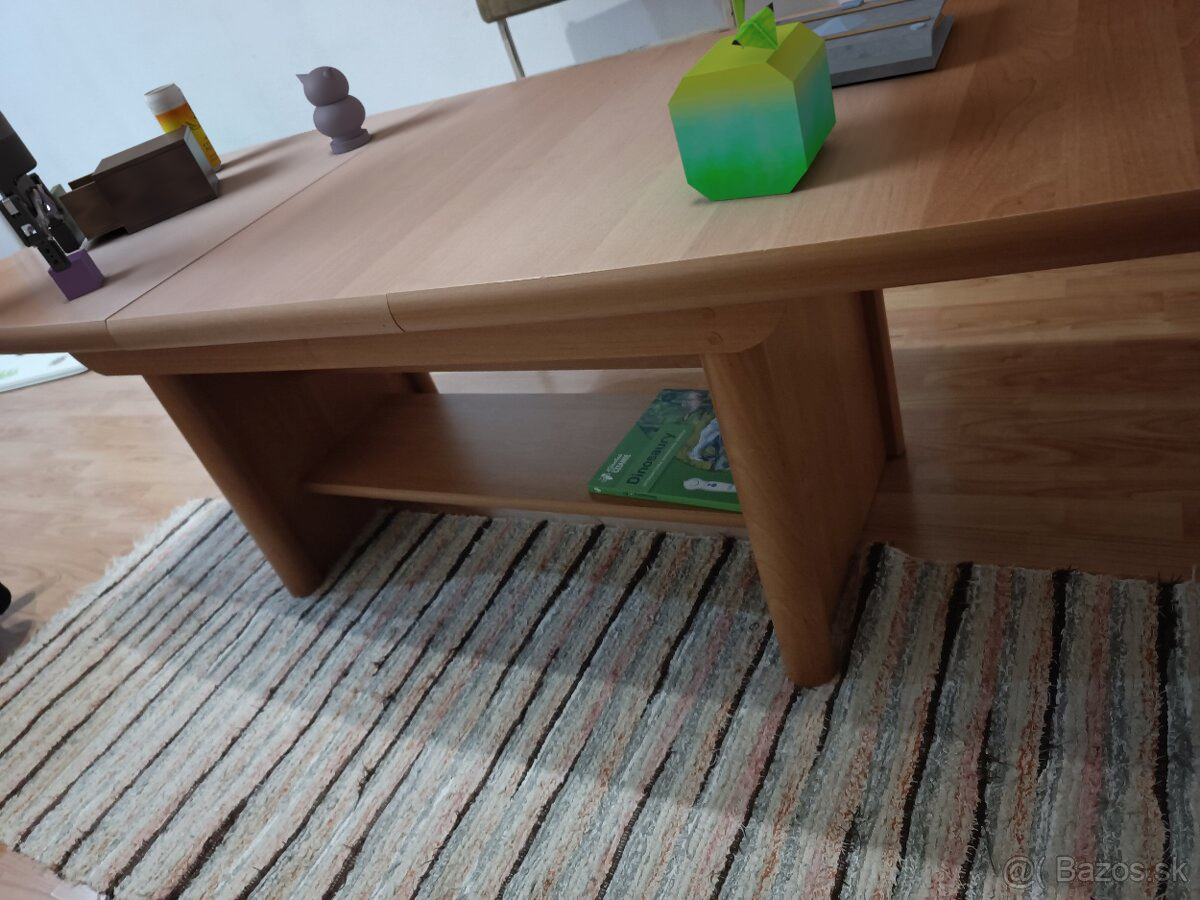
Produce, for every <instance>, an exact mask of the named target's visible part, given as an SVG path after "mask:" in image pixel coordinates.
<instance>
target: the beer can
mask: <svg viewBox="0 0 1200 900" xmlns="http://www.w3.org/2000/svg"><path fill="white" fill-rule="evenodd" d="M143 96H144V100H145V104H146V105H147V107H148V109H149V111H150V113H151V114H152V116H153V117H154V119H155V120H156V123H157V124H158V126H159V128H160V129H161V131H162V133H163V134H166V133H168V132H171V131H173V130H175V129H178V128H180V127H183V126H185V125H188V127H189V128H190V130H191V132H192V134H193V135H194V137H195V139H196V141H197V142H198V144H199V146H200V148H201V149H202V151H203V153H204V155H205V156H206V158H207V160H208V161H209V163H210V165H211V167H212V168H213V170H214V172H215V173H217V172H218V171H220V170H221V169H222V166H221V165H222V160H221V158H220V157H219V155H218V153H217V151H216V150H215V148H214V146H213V144H212V142H211V141H210V139H209V137H208V135H207V134H206V132H205V130H204V129H203V127H202V125H201V123H200V121H199V119H198V118H197V115H196V114H195V112H194V110H193V109H192V107H191V105H190V103H189V102H188V100H187V99H186V97H185V94H184V93H183V91H182V89H181V88H180V87H179V86H178V85H177V84H175V82H169V83H165V84H164V85H161V86H159V87H156V88H154V89H151V90H149V91H147V92H146V93H144V94H143Z"/></svg>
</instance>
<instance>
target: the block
mask: <svg viewBox="0 0 1200 900" xmlns="http://www.w3.org/2000/svg"><path fill="white" fill-rule="evenodd" d="M66 256H67V257H68V258H69V260H70V261H71V263H72V265H71V267H70V268H69V269H67V270H64V271H62V272H60V273H56V272H55V271H54V270H53V269H52V268H51V266H50V265H49V266H50V267H49V268H48V270H47V274H48V275H49V276H50V277H51V279H52V280H53V282H54V283H55V284H56V286H57V288H59V290H60V291H61V292H62V294H63V295H64V297H65V298H66V299H67V300H68V301H69V302H70V301H72V300H75V299H77V298H80V297H81V296H84V295H86V294H89V293H91V292H94V291H96V290H98V289H100V288H101V287H102V285H103V282H104V280H105V276H104V274H103V273H102V271H101V270H100V269H99V267H98V265H97V264H96V263H95V261H94V260H93V258H92V257H91V256H90V254H89V253H88V252H87V250H86V248H83V249H79V250H77V251H74V252H72V253H70V254H67V255H66Z"/></svg>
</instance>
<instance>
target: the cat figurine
mask: <svg viewBox="0 0 1200 900" xmlns="http://www.w3.org/2000/svg"><path fill="white" fill-rule="evenodd" d="M295 76H296V78H297V79H298V80H299V82H300V83H301V84H302V87H303V93H304V96H305V98H306V100H307V101H308V102H309V103H310V104H311V105H312V106H314V107H315V108H314V110H313V113H312V121H313V124H314V127H315V128H316V130H317V131H318V132H319V133H320V134H321V135H323V136H325V137H328V138H330V139H331V141H330V143H329V147H331V150H332V152H333V154H335V155H339V154H343V153H347V152H350V151H353V150H355V149H358V148H360V147H362V146H364V145H365V144H367V143H368V142H369V141H370V140H371V139H372V137H371V136H370V133H369V131H368V129H367V128H365V127H364V128H362V126H363V124H364V123H365V120H366V115H367V114H366V108H365V106H364V104H363V103H362V101H361V100H360V99H359V98H358V97H355V96H354V95H352V94H349V93H350V84H349V80H348V79H347V76H345V74H344V73H343V72H342V71H341V70H340V69H338V68H336V67H333V66H328V65H321V66H318V67H315V68H314V69H312V70H310V71H309V73H300V74H299V73H296V74H295Z"/></svg>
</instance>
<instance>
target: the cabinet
mask: <svg viewBox="0 0 1200 900" xmlns="http://www.w3.org/2000/svg"><path fill="white" fill-rule="evenodd" d="M93 172H94V173H93ZM93 172H92V173H93V174H92V176H91V177H92V179H93V180H94V182H95V183H96V185H97V186H98V188H99V189H100V191H101V192H102V194H103V195H104V197H105V198H106V200H107V201H108V203H109V204H110V206H111V207H112V209H113V210H114V212H115V213H116V215H117V216H118V218H119V219H120V221H121V222H122V224H123V225H124V226H123V227H124V229H125V230H126V232H127V233H128V234H129V235H131V234H134V233H136V232H138V231H141V230H143V229H146V228H148V227H151V226H152V225H155V224H158V223H160V222H162V221H165V220H167V219H170V218H172V217H175V216H177V215H179V214H182V213H184V212H186V211H189V210H192V209H193V208H196V207H199V206H200V205H201V206H202V205H203V204H206V203H208V202H211V201H212V200H214V199H217V198H218V197H219V196H218V195H219V184H220V179H219V177H218V176H217V174H216V172H214V170H213V168H212V167H211V165H210V163H209V161H208V160H207V158H206V156H205V155H204V153H203V151H202V149H201V148H200V146H199V144H198V142H197V141H196V139H195V137H194V135H193V134H192V132H191V130H190V128H189V127H188V125H185V126H183V127H180V128H178V129H175V130H173V131H171V132H168V133H166V134H164V133H163V134H160V135H159V136H156V137H153V138H151V139H148V140H146V141H144V142H141V143H139V144H136V145H133V146H132V147H129V148H126V149H124V150H121V151H119V152H117V153H114V154H112V155H108V156H106V157H103V158H101V160H100V162H99V163H98V164H97V166H96V167H95V170H94V171H93Z"/></svg>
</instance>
